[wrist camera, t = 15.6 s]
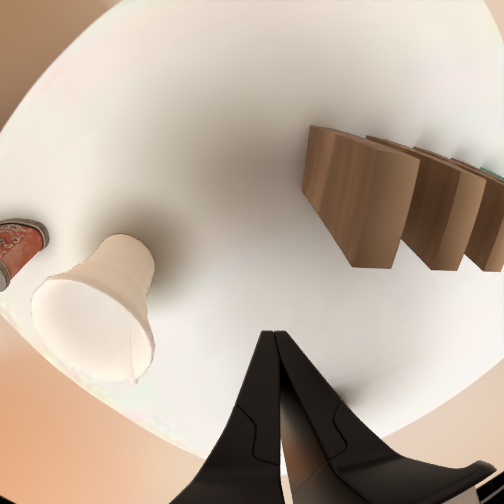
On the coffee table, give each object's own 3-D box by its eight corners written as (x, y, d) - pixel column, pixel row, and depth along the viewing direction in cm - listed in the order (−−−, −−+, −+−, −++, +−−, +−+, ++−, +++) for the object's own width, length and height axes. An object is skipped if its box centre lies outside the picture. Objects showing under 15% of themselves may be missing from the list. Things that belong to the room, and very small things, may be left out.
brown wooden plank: (388, 140, 20) (486, 180, 10) (377, 199, 22) (456, 270, 12) (366, 135, 19) (461, 171, 10) (355, 196, 22) (430, 270, 12)
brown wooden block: (431, 151, 20) (526, 195, 10) (419, 205, 22) (500, 271, 13) (413, 146, 20) (511, 189, 10) (401, 203, 22) (483, 271, 13)
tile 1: (336, 129, 19) (420, 159, 10) (326, 193, 22) (391, 268, 12) (310, 125, 19) (378, 149, 9) (301, 190, 22) (351, 267, 12)
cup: (124, 314, 27) (92, 395, 18) (68, 238, 22) (7, 306, 14) (199, 284, 25) (184, 376, 16) (143, 192, 21) (85, 256, 12)
